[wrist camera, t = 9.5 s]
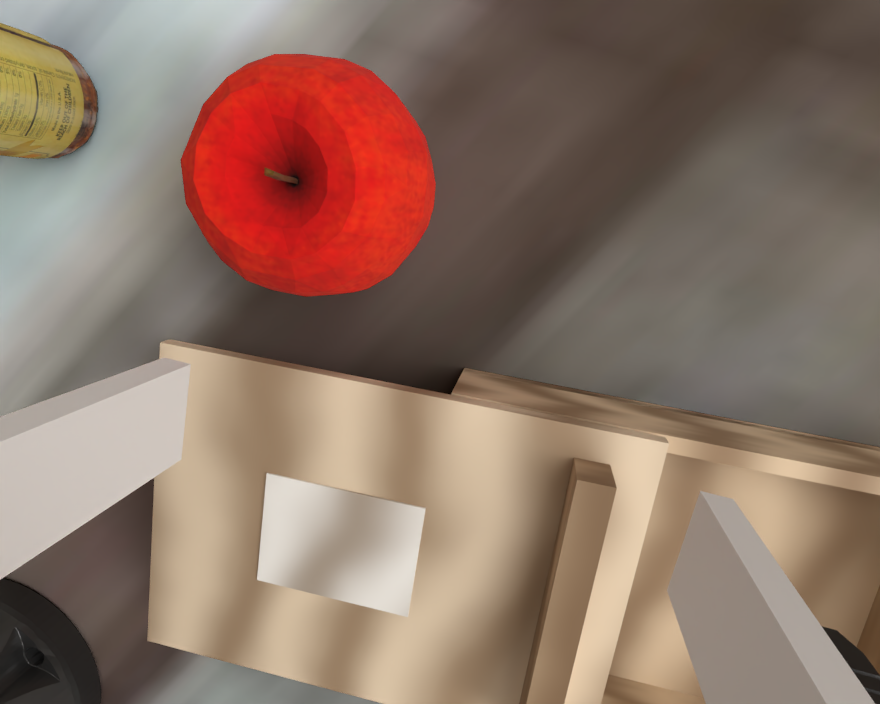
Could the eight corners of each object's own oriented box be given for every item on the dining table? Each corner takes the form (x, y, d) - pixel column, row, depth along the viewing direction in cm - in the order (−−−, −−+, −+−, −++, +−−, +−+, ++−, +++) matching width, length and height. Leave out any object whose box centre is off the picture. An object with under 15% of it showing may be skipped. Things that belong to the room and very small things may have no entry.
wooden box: (420, 629, 37) (402, 691, 32) (464, 367, 33) (451, 393, 28) (829, 731, 34) (877, 816, 29) (933, 457, 30) (1009, 502, 25)
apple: (317, 309, 34) (198, 357, 22) (244, 140, 32) (73, 94, 20) (482, 242, 31) (447, 255, 20) (410, 57, 30) (326, -49, 18)
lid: (156, 631, 34) (117, 672, 30) (169, 339, 30) (126, 352, 26) (585, 744, 31) (590, 802, 27) (665, 437, 27) (681, 465, 23)
